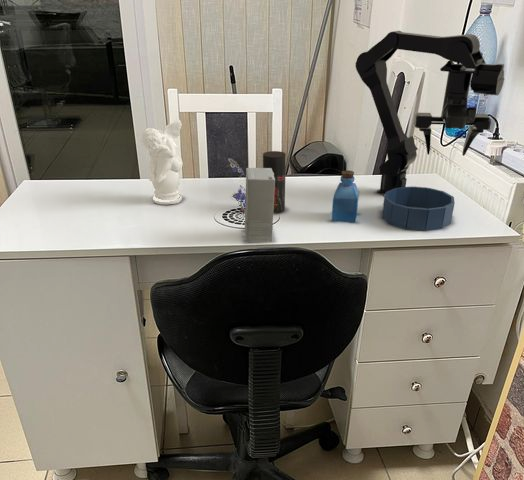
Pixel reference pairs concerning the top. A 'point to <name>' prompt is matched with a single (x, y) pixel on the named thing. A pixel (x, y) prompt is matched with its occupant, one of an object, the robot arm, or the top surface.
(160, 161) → the cherub figurine
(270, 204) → the cosmetic box
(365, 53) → the robot arm
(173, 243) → the top surface
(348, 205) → the perfume bottle
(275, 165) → the deodorant
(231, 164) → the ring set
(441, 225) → the blue round bin
